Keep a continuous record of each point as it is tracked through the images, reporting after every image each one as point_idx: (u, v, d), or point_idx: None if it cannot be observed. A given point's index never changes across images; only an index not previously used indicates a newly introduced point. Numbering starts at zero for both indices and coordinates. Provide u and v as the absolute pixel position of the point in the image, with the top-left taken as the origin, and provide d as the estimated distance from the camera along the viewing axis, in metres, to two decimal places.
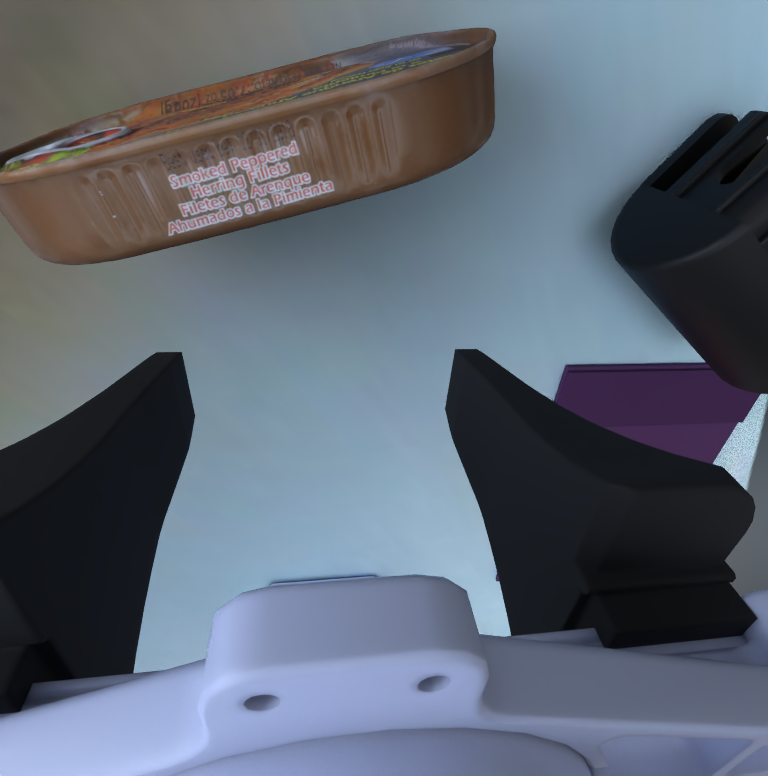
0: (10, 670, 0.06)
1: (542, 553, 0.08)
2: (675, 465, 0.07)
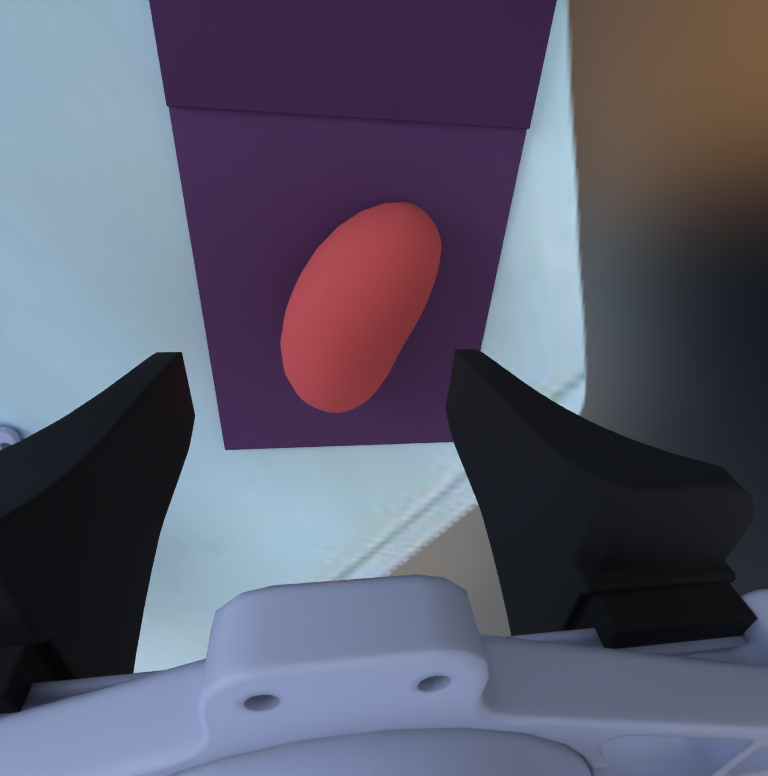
0: (10, 670, 0.06)
1: (542, 553, 0.08)
2: (675, 465, 0.07)
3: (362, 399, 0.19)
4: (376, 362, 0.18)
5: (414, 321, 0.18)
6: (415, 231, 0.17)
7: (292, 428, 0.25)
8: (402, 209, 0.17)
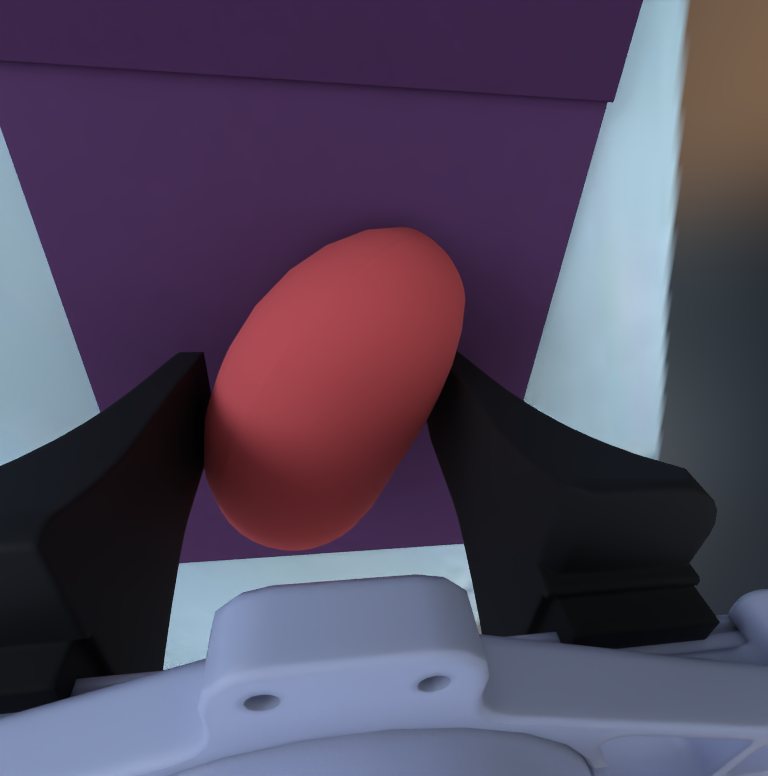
0: (56, 666, 0.06)
1: (509, 555, 0.08)
2: (637, 467, 0.07)
3: None
4: (356, 498, 0.10)
5: (420, 428, 0.11)
6: (422, 282, 0.09)
7: None
8: (399, 242, 0.10)
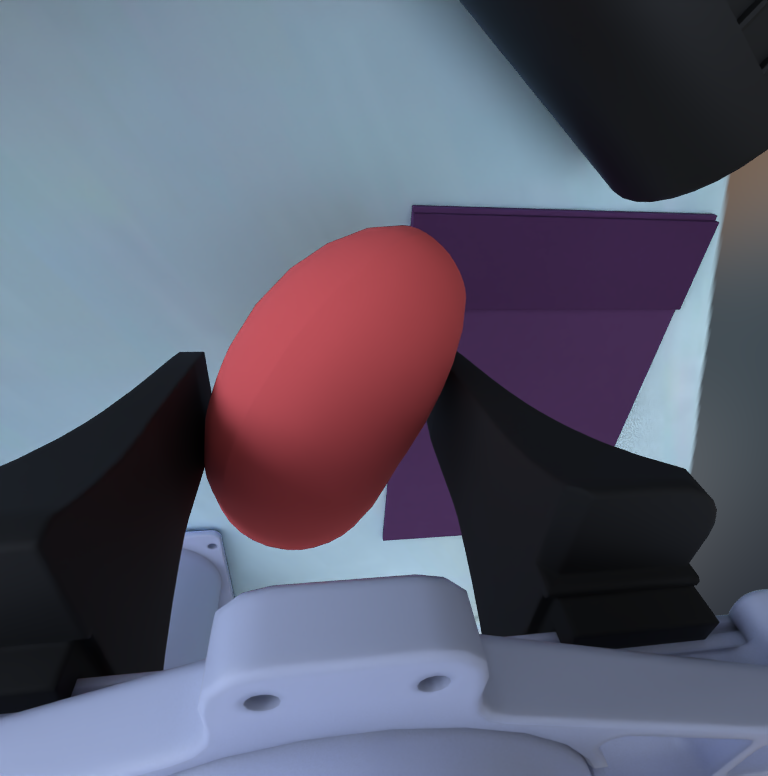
0: (57, 666, 0.06)
1: (508, 556, 0.08)
2: (637, 467, 0.07)
3: (337, 537, 0.12)
4: (357, 498, 0.10)
5: (421, 427, 0.11)
6: (423, 280, 0.09)
7: (441, 522, 0.29)
8: (400, 240, 0.10)
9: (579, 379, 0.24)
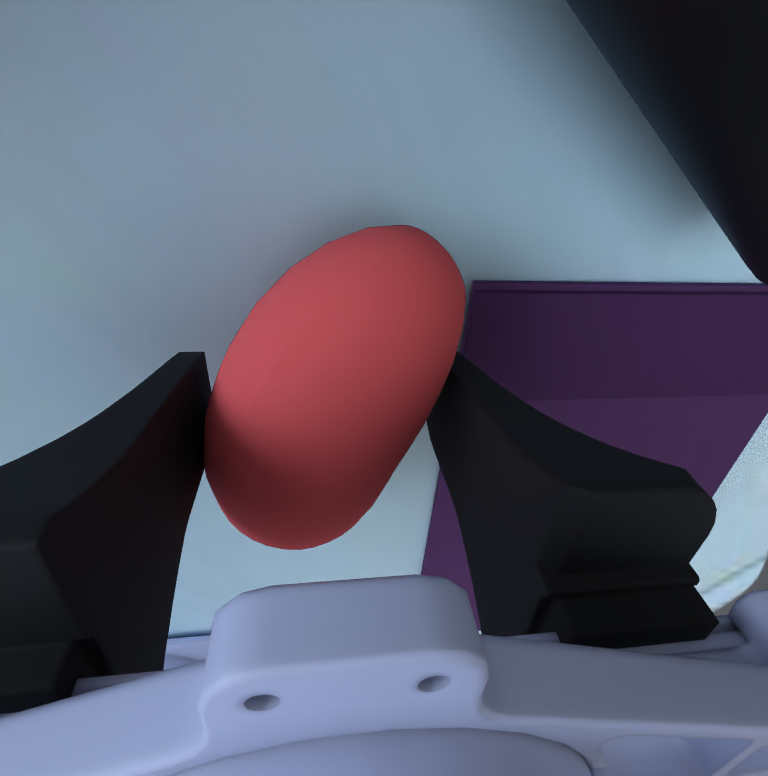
0: (58, 666, 0.06)
1: (509, 556, 0.08)
2: (637, 467, 0.07)
3: (337, 537, 0.12)
4: (357, 497, 0.10)
5: (420, 426, 0.11)
6: (422, 280, 0.09)
7: None
8: (399, 240, 0.10)
9: None
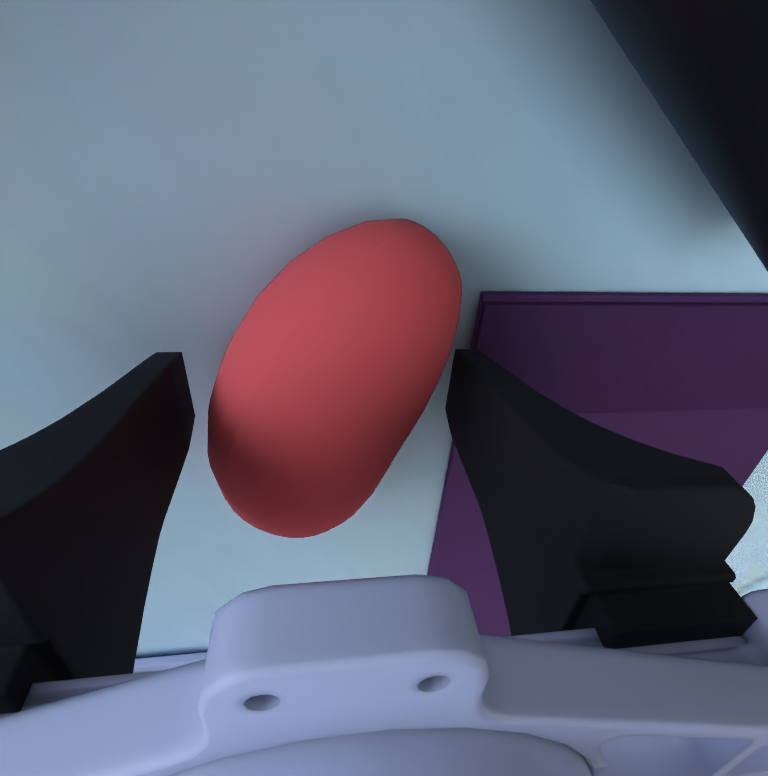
0: (10, 670, 0.06)
1: (542, 553, 0.08)
2: (675, 465, 0.07)
3: (338, 524, 0.13)
4: (357, 484, 0.11)
5: (418, 415, 0.11)
6: (419, 271, 0.10)
7: (484, 632, 0.24)
8: (397, 232, 0.10)
9: None
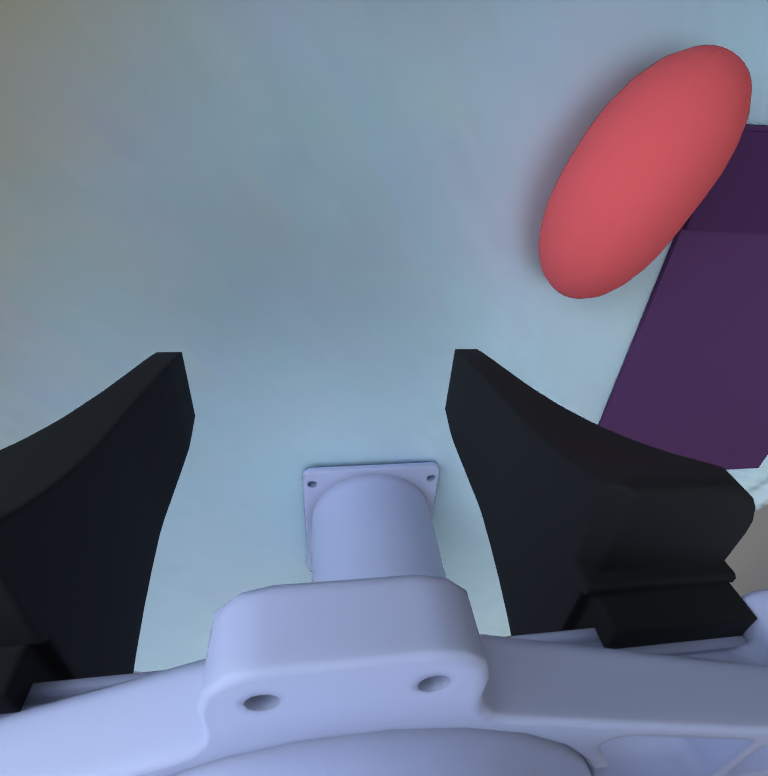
0: (10, 670, 0.06)
1: (542, 553, 0.08)
2: (675, 465, 0.07)
3: (636, 273, 0.18)
4: (680, 220, 0.17)
5: (718, 176, 0.17)
6: (742, 68, 0.15)
7: None
8: (720, 48, 0.16)
9: None
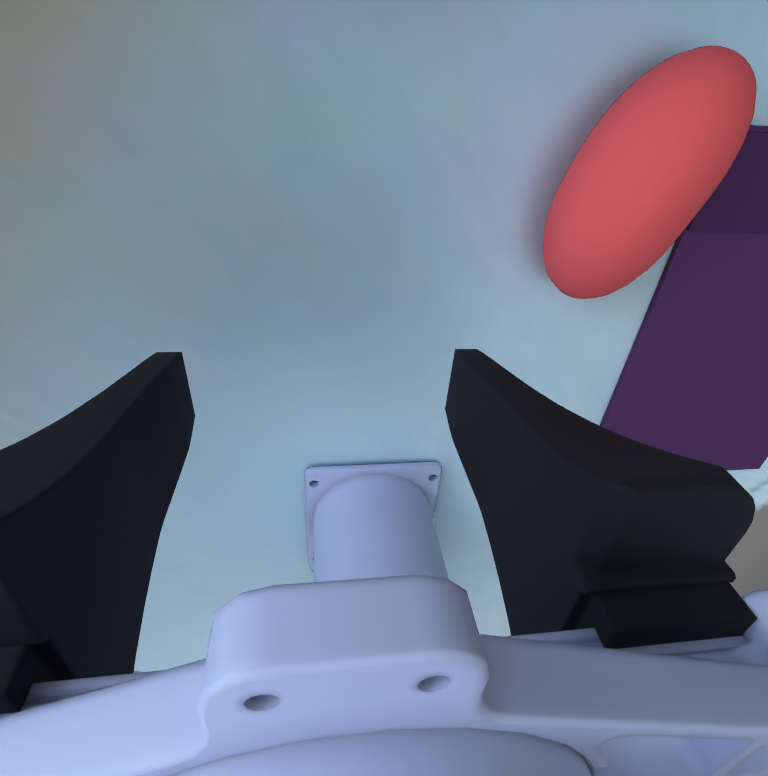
0: (10, 670, 0.06)
1: (542, 553, 0.08)
2: (675, 465, 0.07)
3: (640, 273, 0.18)
4: (684, 220, 0.17)
5: (723, 177, 0.17)
6: (747, 69, 0.15)
7: None
8: (725, 49, 0.16)
9: None
